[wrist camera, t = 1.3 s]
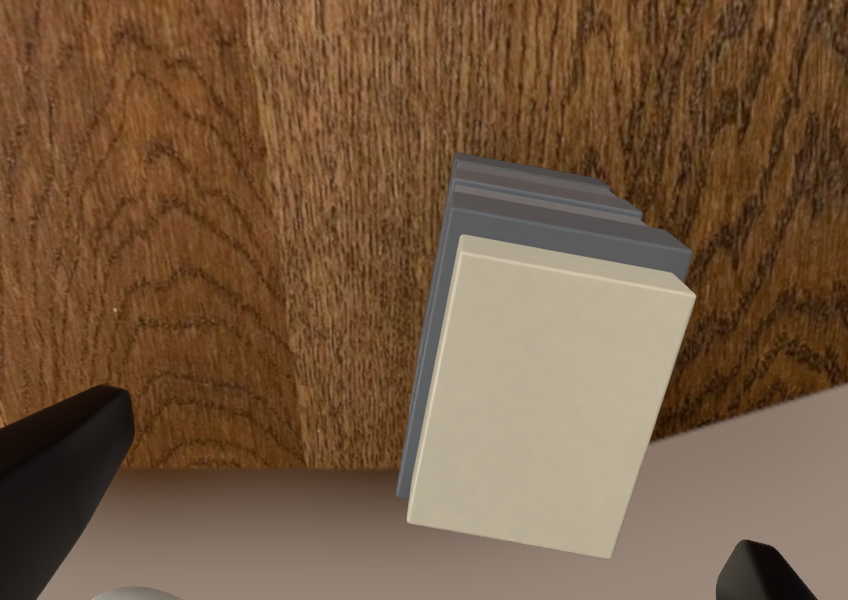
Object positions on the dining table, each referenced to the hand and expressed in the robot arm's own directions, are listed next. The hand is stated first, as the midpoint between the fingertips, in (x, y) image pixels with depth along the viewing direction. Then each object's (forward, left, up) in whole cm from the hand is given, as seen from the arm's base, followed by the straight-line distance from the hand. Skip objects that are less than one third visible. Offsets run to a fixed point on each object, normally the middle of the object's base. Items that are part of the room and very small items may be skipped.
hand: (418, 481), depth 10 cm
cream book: (0, -2, -5) cm, 5 cm away
